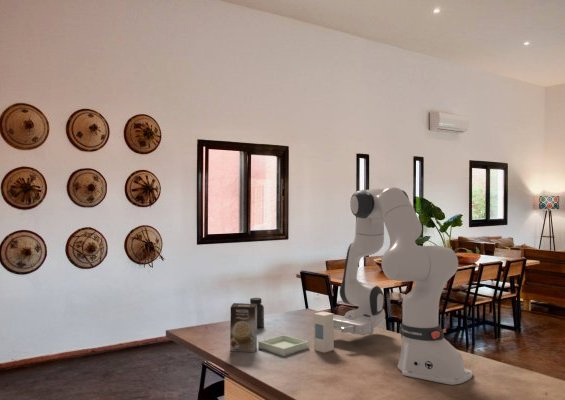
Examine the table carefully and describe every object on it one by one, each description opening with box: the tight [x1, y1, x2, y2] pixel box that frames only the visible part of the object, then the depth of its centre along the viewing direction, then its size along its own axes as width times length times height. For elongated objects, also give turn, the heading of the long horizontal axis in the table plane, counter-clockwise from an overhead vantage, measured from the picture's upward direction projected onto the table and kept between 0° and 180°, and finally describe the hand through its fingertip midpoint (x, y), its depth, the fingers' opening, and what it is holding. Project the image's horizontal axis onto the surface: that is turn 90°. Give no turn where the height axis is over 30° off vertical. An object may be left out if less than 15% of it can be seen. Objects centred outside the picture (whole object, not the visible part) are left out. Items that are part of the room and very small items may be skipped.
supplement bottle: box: [249, 297, 265, 329], centre depth 208 cm, size 7×7×12 cm
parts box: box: [313, 311, 335, 354], centre depth 175 cm, size 5×5×13 cm
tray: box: [257, 334, 310, 357], centre depth 177 cm, size 13×13×2 cm
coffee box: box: [229, 302, 258, 353], centre depth 176 cm, size 9×6×16 cm
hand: (332, 327), depth 179 cm, fingers open, 8 cm apart
